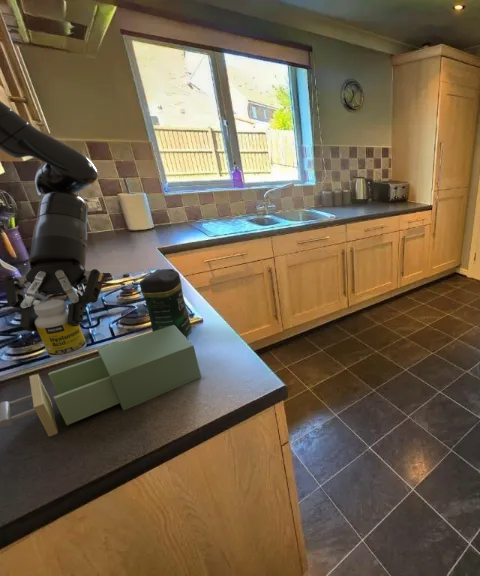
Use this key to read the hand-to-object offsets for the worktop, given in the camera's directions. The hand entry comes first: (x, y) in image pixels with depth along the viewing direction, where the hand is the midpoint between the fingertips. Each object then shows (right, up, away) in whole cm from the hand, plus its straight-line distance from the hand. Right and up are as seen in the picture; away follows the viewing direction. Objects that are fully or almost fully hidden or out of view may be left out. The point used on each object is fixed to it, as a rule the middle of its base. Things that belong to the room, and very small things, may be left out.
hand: (52, 327), depth 58 cm
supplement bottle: (-1, -5, +4) cm, 7 cm away
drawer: (-2, -16, +6) cm, 18 cm away
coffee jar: (+1, -6, +32) cm, 33 cm away
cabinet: (+7, -14, +16) cm, 22 cm away
